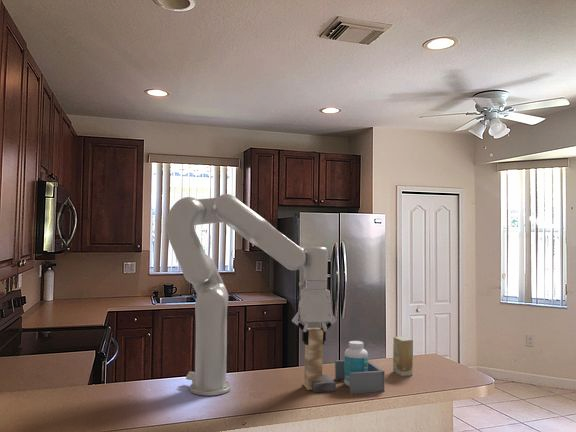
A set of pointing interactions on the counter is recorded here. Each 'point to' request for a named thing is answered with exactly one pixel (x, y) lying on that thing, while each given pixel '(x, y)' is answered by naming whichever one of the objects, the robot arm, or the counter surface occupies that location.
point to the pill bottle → (355, 359)
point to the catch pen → (362, 378)
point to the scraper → (316, 364)
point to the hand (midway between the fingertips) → (313, 343)
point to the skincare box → (403, 356)
